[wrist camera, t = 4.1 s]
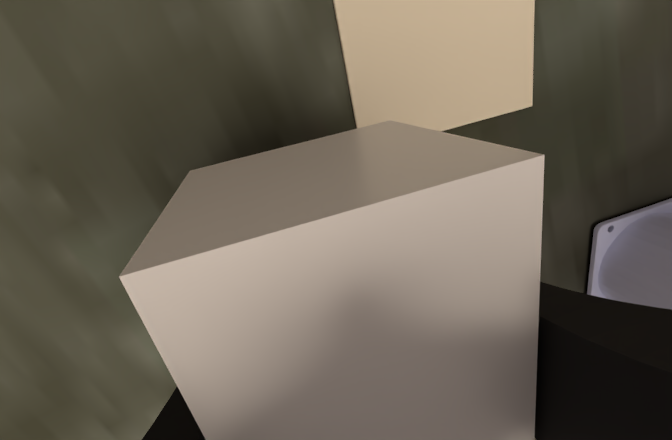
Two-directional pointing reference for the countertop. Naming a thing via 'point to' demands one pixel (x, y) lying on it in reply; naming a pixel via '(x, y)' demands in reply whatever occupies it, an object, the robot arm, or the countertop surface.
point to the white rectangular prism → (352, 289)
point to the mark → (436, 59)
